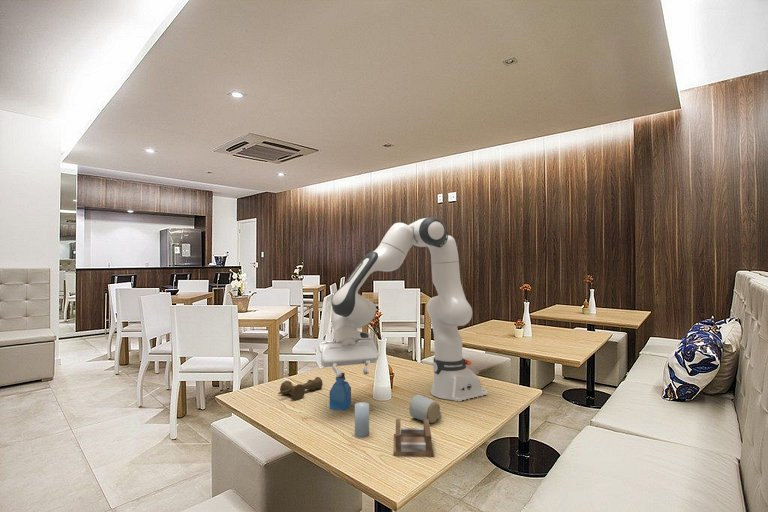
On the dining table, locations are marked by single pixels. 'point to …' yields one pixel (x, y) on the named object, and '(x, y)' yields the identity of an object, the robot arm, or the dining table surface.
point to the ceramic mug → (424, 408)
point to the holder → (412, 440)
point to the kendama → (300, 388)
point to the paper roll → (361, 419)
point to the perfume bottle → (340, 394)
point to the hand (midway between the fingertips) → (353, 375)
